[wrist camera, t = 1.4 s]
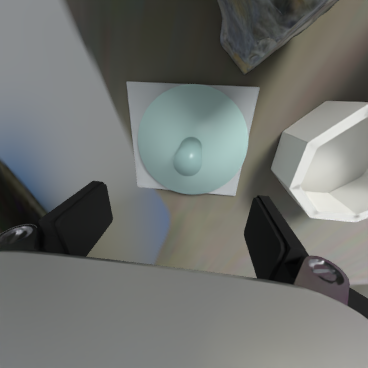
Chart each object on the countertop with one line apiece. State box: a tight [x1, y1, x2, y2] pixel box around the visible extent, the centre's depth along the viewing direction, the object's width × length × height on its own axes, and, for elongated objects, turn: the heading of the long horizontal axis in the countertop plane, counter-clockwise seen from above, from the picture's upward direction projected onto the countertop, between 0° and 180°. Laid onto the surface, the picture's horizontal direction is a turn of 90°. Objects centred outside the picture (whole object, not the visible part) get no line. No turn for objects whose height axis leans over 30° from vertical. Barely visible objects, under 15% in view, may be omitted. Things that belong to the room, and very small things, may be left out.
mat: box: [126, 81, 260, 196], centre depth 22 cm, size 14×15×1 cm
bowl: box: [271, 101, 368, 222], centre depth 18 cm, size 12×12×6 cm
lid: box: [138, 84, 248, 194], centre depth 19 cm, size 14×14×6 cm
